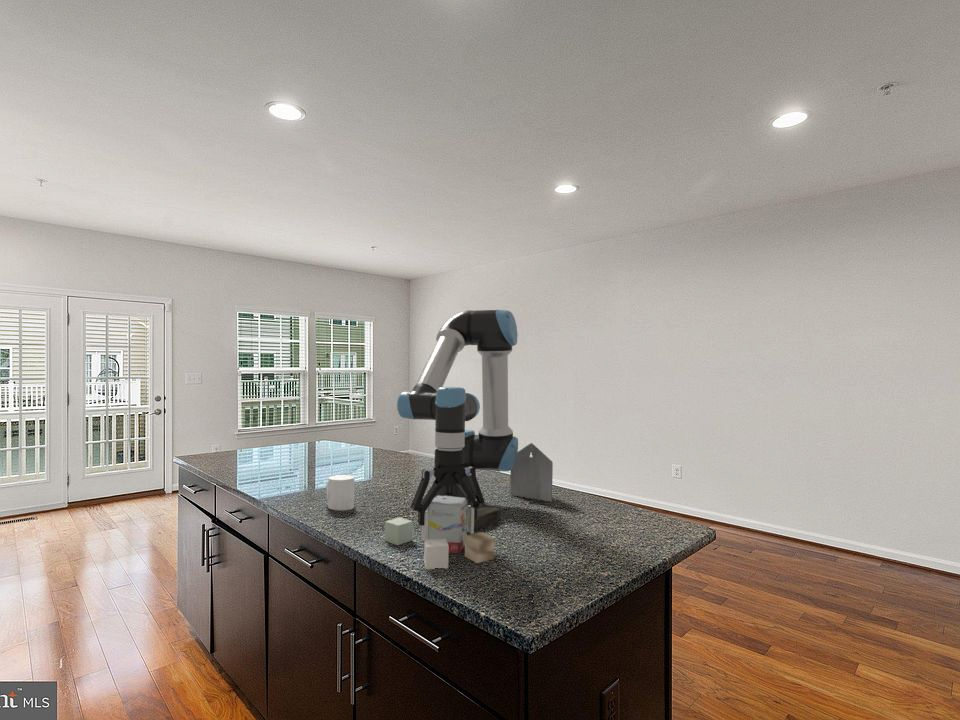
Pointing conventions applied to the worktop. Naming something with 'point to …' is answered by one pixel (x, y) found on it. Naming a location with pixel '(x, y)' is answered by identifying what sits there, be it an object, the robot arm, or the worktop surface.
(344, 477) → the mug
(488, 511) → the decorative stone
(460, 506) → the ink box
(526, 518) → the worktop surface
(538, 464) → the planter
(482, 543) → the maple cube
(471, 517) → the robot arm
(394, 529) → the sage cube
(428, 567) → the off-white cube
